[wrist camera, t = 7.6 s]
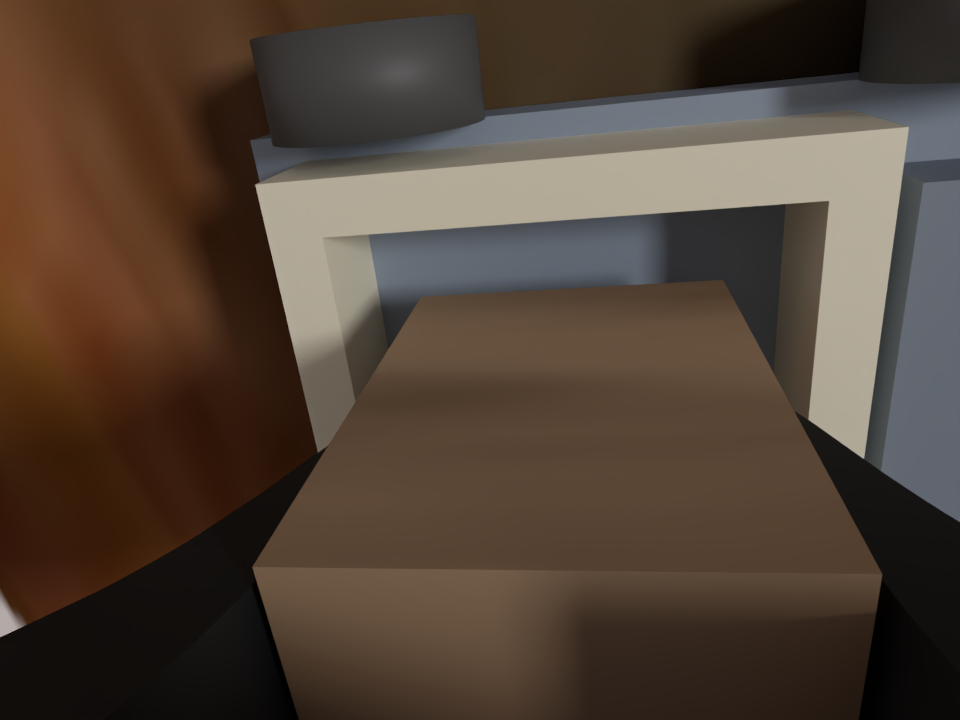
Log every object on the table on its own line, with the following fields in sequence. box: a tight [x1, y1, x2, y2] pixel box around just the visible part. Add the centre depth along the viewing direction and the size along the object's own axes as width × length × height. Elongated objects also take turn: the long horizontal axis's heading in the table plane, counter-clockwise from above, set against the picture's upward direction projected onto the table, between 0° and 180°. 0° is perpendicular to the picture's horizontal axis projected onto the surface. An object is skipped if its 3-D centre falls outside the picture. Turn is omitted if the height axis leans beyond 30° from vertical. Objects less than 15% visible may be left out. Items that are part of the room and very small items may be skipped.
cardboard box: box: [252, 280, 882, 720], centre depth 9 cm, size 4×4×6 cm
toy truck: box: [250, 0, 960, 522], centre depth 12 cm, size 12×13×3 cm
